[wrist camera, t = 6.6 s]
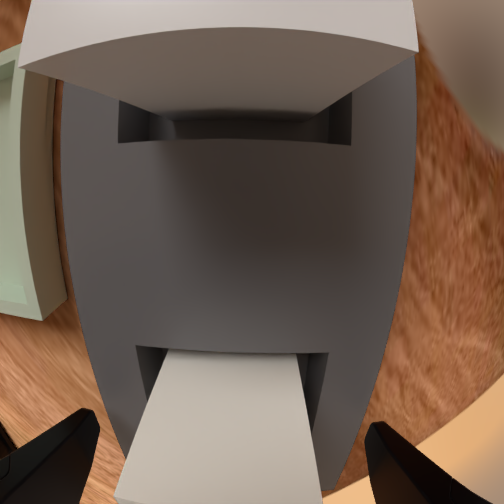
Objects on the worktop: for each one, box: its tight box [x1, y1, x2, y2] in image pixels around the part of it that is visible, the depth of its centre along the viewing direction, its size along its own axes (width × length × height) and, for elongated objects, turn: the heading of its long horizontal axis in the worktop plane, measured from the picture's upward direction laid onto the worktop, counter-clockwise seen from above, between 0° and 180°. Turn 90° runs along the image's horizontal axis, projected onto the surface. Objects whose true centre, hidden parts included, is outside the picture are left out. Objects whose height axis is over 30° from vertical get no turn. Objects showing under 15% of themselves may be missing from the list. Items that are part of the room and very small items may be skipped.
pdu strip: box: [61, 55, 417, 491], centre depth 8 cm, size 25×9×3 cm, turn 179°
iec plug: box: [113, 348, 323, 504], centre depth 8 cm, size 4×4×7 cm
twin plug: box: [17, 0, 419, 122], centre depth 5 cm, size 4×4×7 cm
